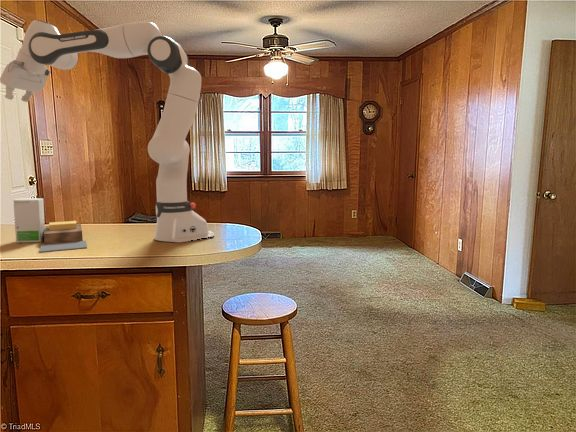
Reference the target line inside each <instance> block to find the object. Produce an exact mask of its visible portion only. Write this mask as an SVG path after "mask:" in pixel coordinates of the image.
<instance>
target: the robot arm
mask: <svg viewBox="0 0 576 432" xmlns="http://www.w3.org/2000/svg"><path fill="white" fill-rule="evenodd" d="M22 41H23V42H22V45H21V47H20V48H19V50H18V52H17V55H16V58H15V60H14V59H13V60H12V61H10V62H9V63H8V64H7V65H6V66H5V67H4V69H3V71H2V74H1V76H0V83H1V84H2V85H4V86H5V95H4V98H5V99H7V100H12V101H13V98H14V91H15V89H19V90H23V91H25V93H24V95H22V97H21V98H20V100H21V102H22V101H23V102H24V103H29V101H30V99H31V98H32V96H33V95H34V93H36V94H37V93H38V94H40V93H42V91H43V90H44V88H45V86H46V83H47V80H48V77H50V75H51V71H50V69H49V68H48V67H47V66H50V67H53V68H56V69H59V70H63V71H71V70H73V69H74V68H75V67H76V66H77V64H78V61H79V54H81V53H98V54H101V55H105V56H108V57H111V58H115V59H130V58H136V57H141V56H148V59H149V60H150V62H151V63H152V64H153V65H154V66H155V67H157V68H158V69H159V70H160V71H162V72H163V73H165V74H167V75H168V76H169V83H170V84H169V87H168V91H167V94H166V99H165V103H164V107H163V111H162V114H161V117H160V120H159V122H158V124H157V126H156V129H155V131H154V134H153V136H152V137H151V139H150V140H149V142H148V144H147V153H148V155H149V157H150V158H151V159H152V160H153V161H154V162H156V163H157V164H158V165H159V166H158V172H157V176H156V179H155V185H156V186H155V188H156V192H155V193H156V201H155V216H156V226H155V233H154V236H153V237H154V238H153V239H154V240H155V241H158V242H172V243H184V242H185V243H186V242H192V241H191V240H193V241H198V240H197V239H200V240H202V239H201V238H207V239H209V238H208V237H213V236H214V237H215V233H214V232H213V231H212V230H209V226H208V222H207V220H206V219H205V218H204V217H203V216H201V215H199V213H197V212H195V211H194V210H193V209H196V206H197V204H196V203H195V202H191V201H189V200H188V190H187V189H188V188H187V185H188V183H187V179H188V170H189V159H190V158H189V157H190V152H191V149H190V144H189V143H188V141H187V140H186V138H187V136H188V133H189V131H190V129H191V128H192V126H193V124H194V121H195V116H196V114H197V113H196V112H197V108H198V105H199V102H200V101H199V100H200V96H201V92H202V91H201V90H202V75H201V73H200V72H199V71H198V70H197V69H195V68H194V67H192V66H190V59H189V56H188V54H187V52H186V51H185V50H184V49H183V47H182V46H181V44H180V43H178V42H177V41H175V40H174V39H172V38H171V37H169V36H166V35H162V32H161V30H160V28H159V27H158V26H157V25H156V24H155V23H153V22H151V21H135V22H134V21H133V22H128V23H127V22H126V23H121V24H117V25H114V26H109V27H104V28H98V29H93V30H83V31H75V32H68V33H62V34H61V33H60V32H59V29H58V27H56V26H55V25H53V24H51V23H49V22H46V21H44V20H40V19H34V20H32V21H31V22H30V24H29V26H28V27H27V29H26V31H25V33H24V36H23V40H22ZM46 65H47V66H46ZM214 237H213V238H214Z"/></svg>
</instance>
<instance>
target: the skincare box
mask: <svg viewBox="0 0 576 432" xmlns="http://www.w3.org/2000/svg"><path fill="white" fill-rule="evenodd" d="M44 206H45V204H44V198H39V197H36V198H35V197H34V198H33V197H30V198H29V197H28V198H27V197H20V198H15V199H13V213H14V216H13V217H14V229H15V230H14V231H15V243H20V242H21V243H41V242H43V241H44V231H45V228H46V225H45V222H46V221H45V207H44Z"/></svg>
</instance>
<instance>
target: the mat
mask: <svg viewBox="0 0 576 432" xmlns="http://www.w3.org/2000/svg"><path fill="white" fill-rule="evenodd" d="M82 249H88V245H87V241H86V240H83V241H76V242H64V243H53V244H45V243H44V244H40V249H39V253H41V254H42V253H51V252H61V251H73V250H82Z"/></svg>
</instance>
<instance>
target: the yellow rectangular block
mask: <svg viewBox="0 0 576 432" xmlns="http://www.w3.org/2000/svg"><path fill="white" fill-rule="evenodd" d="M77 222H78V221H77V220H70V221H69V220H68V221H53V222H49V223H48V226H49V231H50V230H63V229H77V224H78V223H77Z"/></svg>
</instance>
